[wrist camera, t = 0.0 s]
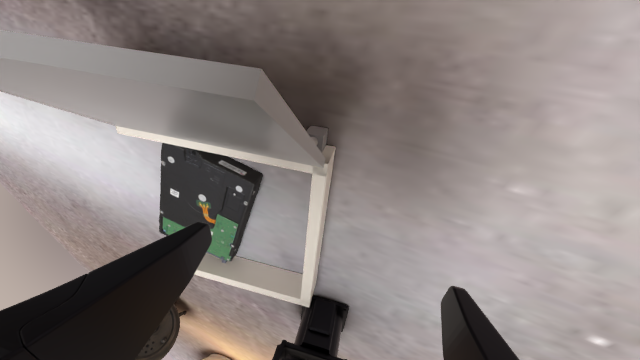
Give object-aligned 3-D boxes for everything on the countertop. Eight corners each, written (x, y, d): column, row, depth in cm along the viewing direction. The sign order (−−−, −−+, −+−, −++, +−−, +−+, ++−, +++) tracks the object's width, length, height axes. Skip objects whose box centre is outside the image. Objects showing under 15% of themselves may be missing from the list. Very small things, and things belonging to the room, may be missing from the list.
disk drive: (179, 128, 27) (172, 220, 35) (159, 137, 24) (157, 233, 32) (266, 170, 27) (239, 252, 35) (254, 183, 24) (229, 268, 32)
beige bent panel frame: (316, 283, 34) (272, 436, 21) (183, 247, 36) (75, 362, 24) (350, 43, 18) (265, 73, 6) (117, 13, 21) (-289, -11, 8)
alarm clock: (140, 280, 45) (34, 387, 32) (152, 272, 43) (43, 385, 29) (186, 315, 48) (107, 427, 35) (200, 309, 45) (121, 428, 32)
